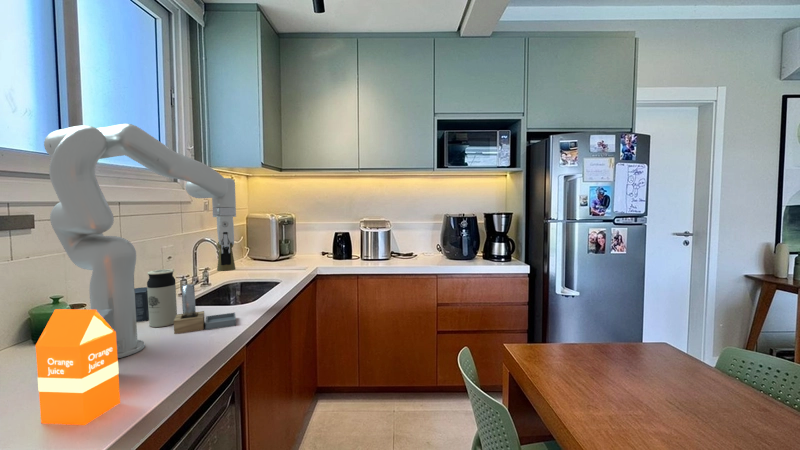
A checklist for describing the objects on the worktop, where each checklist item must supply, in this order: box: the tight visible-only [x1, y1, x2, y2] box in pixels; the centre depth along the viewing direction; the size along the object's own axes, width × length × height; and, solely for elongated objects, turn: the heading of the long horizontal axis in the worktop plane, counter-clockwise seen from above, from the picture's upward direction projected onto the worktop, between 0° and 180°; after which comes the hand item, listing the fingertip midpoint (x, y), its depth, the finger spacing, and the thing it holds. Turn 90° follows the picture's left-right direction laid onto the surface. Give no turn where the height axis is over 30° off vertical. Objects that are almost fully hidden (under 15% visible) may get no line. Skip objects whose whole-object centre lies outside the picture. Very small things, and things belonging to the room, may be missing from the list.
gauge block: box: [173, 310, 206, 335], centre depth 119 cm, size 8×8×4 cm
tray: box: [204, 312, 237, 331], centre depth 123 cm, size 9×9×2 cm
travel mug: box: [146, 268, 178, 328], centre depth 124 cm, size 8×8×18 cm
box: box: [134, 286, 149, 323], centre depth 130 cm, size 8×6×11 cm
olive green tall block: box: [216, 240, 236, 272], centre depth 132 cm, size 6×6×11 cm
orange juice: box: [34, 308, 121, 426], centre depth 70 cm, size 8×9×20 cm
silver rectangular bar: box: [180, 283, 197, 319], centre depth 119 cm, size 4×4×14 cm
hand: (226, 263), depth 132 cm, fingers closed on olive green tall block, 3 cm apart
